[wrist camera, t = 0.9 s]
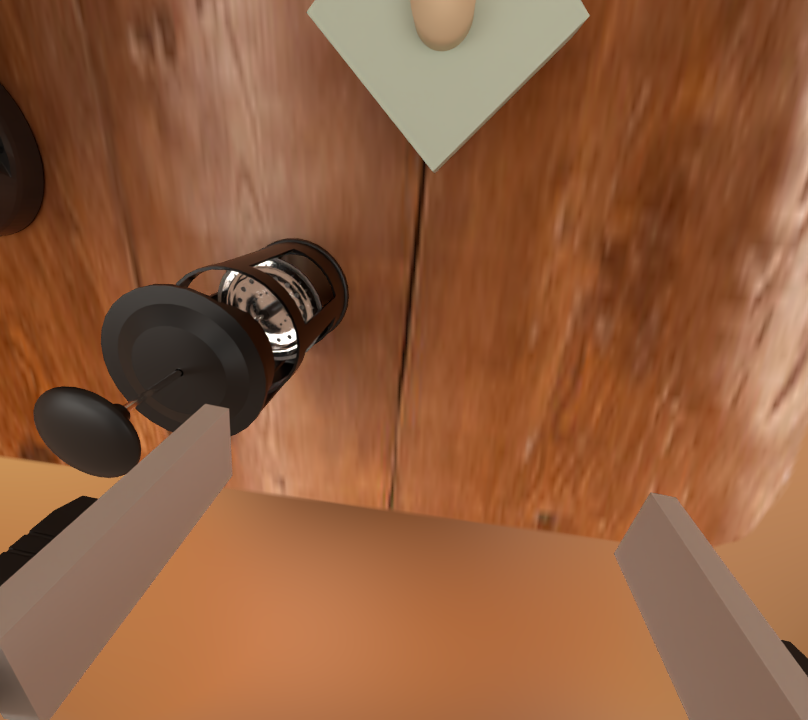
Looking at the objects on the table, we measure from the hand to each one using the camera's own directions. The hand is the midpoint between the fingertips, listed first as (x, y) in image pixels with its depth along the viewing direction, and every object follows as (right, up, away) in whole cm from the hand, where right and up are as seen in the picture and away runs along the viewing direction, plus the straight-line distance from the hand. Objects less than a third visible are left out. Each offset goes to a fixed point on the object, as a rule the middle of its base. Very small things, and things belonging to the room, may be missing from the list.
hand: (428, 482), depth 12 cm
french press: (-11, +10, +23) cm, 28 cm away
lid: (+2, +22, +9) cm, 24 cm away
